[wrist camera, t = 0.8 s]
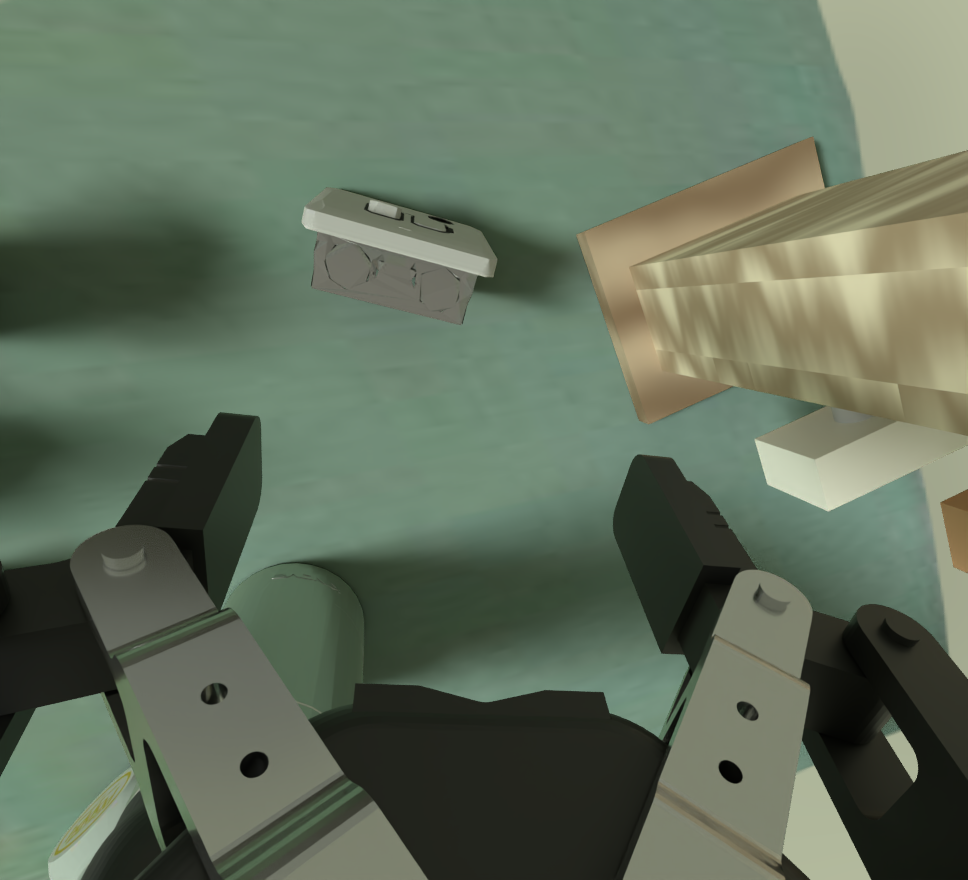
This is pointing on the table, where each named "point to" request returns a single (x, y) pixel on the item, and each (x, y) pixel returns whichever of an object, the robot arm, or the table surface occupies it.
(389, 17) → the table surface
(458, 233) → the electrical switch
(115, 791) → the air freshener
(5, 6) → the table surface
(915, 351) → the knob post
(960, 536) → the orange block
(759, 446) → the lower knob
